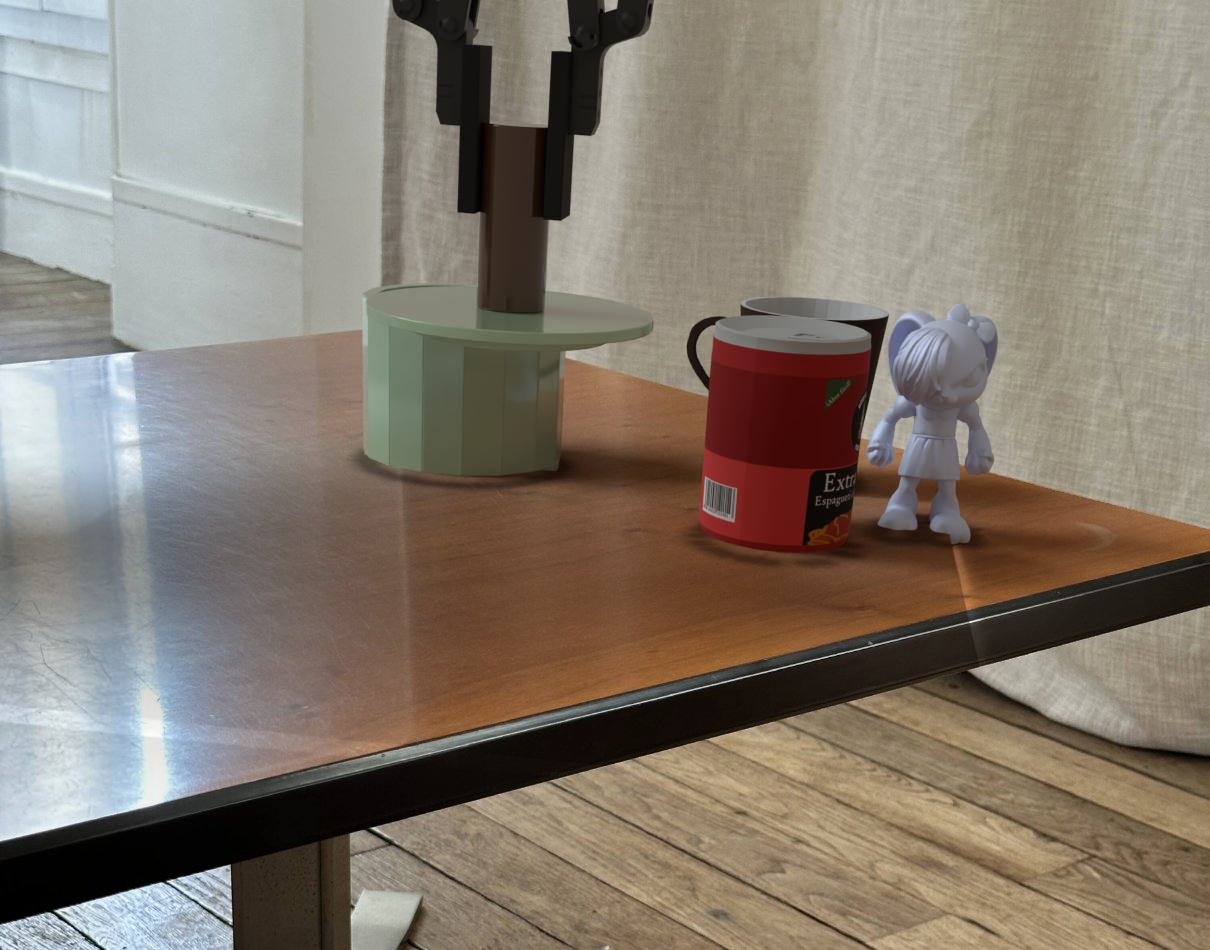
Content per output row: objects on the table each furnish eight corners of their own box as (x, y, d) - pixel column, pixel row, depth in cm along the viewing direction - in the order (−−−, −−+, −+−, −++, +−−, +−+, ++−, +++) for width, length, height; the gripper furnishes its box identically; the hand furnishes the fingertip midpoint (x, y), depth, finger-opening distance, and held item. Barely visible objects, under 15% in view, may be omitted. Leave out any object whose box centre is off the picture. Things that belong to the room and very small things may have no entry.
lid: (331, 343, 70) (331, 118, 67) (402, 302, 82) (405, 108, 78) (636, 371, 69) (652, 143, 66) (664, 324, 81) (679, 129, 77)
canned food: (834, 570, 86) (860, 346, 81) (680, 549, 88) (696, 329, 83) (859, 534, 92) (884, 325, 88) (715, 515, 94) (732, 309, 90)
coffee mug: (898, 488, 102) (920, 316, 98) (788, 502, 98) (806, 323, 94) (775, 446, 111) (790, 287, 107) (668, 457, 107) (679, 291, 102)
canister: (342, 475, 98) (340, 304, 94) (390, 433, 108) (390, 277, 104) (542, 492, 97) (549, 320, 93) (571, 448, 107) (579, 292, 103)
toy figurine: (858, 540, 91) (886, 308, 86) (857, 510, 97) (883, 292, 92) (989, 551, 91) (1025, 318, 86) (980, 521, 96) (1013, 301, 91)
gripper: (761, -415, 66) (706, 221, 76) (356, -435, 68) (353, 192, 77) (752, -468, 60) (694, 238, 69) (303, -489, 61) (307, 206, 71)
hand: (514, 212), depth 73 cm, fingers closed on lid, 3 cm apart
